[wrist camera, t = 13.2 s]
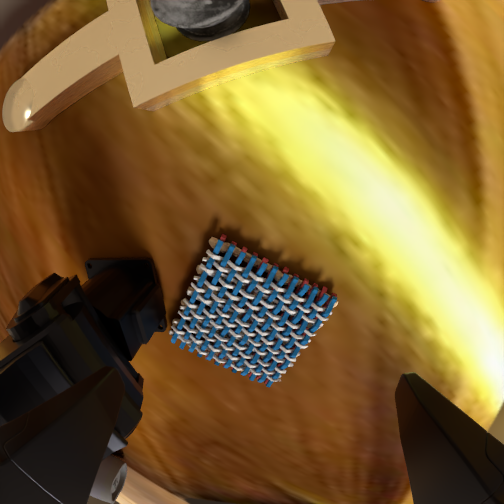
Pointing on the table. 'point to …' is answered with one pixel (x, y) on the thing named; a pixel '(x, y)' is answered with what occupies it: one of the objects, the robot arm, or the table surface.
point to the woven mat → (250, 313)
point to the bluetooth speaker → (109, 479)
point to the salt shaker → (202, 16)
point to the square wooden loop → (152, 60)
